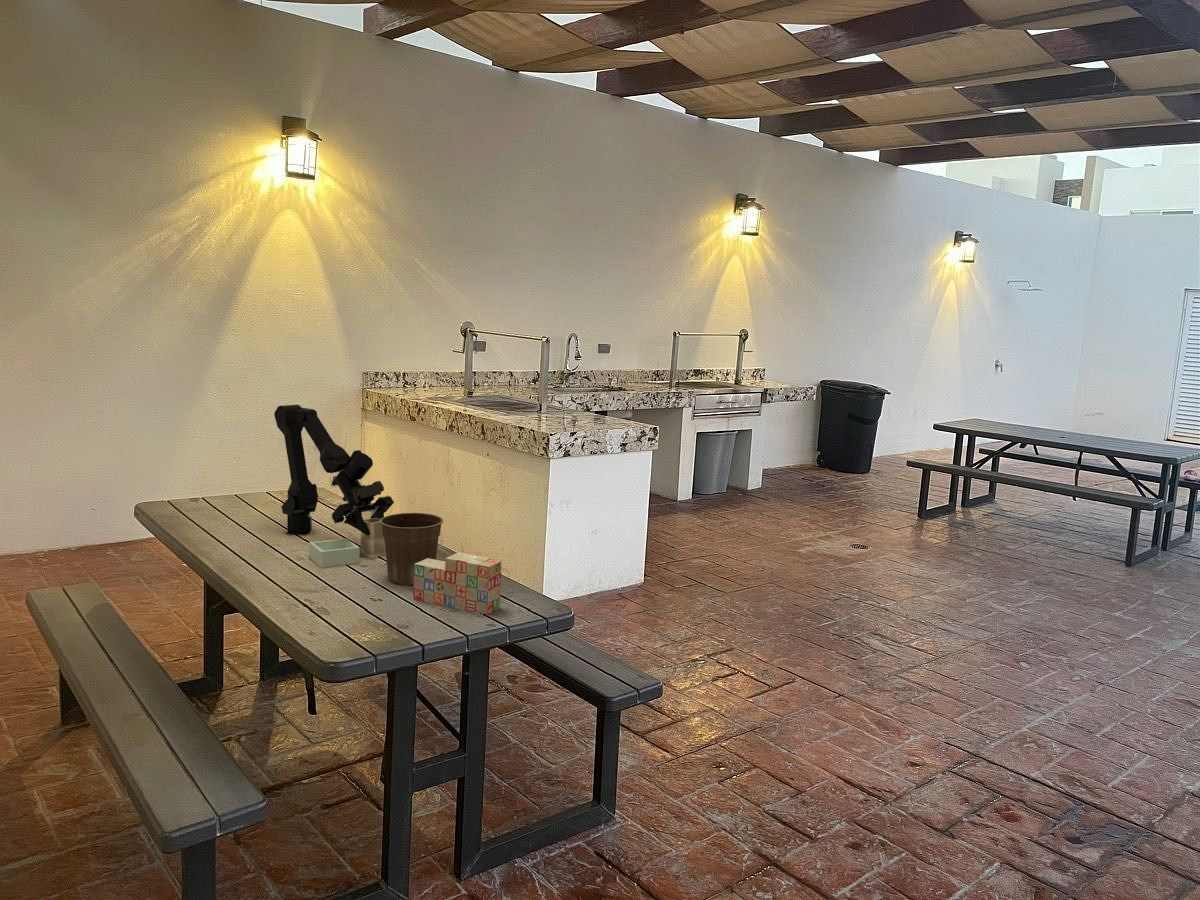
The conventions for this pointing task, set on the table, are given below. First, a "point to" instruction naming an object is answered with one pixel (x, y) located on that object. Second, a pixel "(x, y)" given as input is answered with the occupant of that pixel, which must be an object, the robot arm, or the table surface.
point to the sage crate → (333, 552)
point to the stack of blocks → (459, 582)
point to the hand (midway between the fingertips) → (377, 533)
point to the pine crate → (373, 539)
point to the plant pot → (409, 543)
